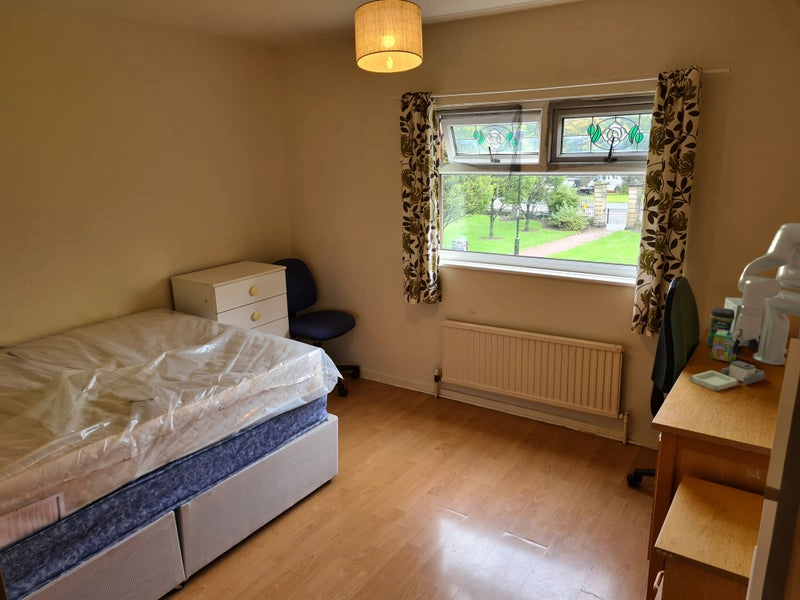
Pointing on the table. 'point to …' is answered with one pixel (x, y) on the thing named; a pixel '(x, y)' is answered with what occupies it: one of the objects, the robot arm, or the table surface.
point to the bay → (749, 379)
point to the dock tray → (714, 380)
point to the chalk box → (723, 346)
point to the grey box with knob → (741, 370)
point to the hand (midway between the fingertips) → (744, 352)
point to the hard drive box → (735, 312)
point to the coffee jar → (719, 322)
